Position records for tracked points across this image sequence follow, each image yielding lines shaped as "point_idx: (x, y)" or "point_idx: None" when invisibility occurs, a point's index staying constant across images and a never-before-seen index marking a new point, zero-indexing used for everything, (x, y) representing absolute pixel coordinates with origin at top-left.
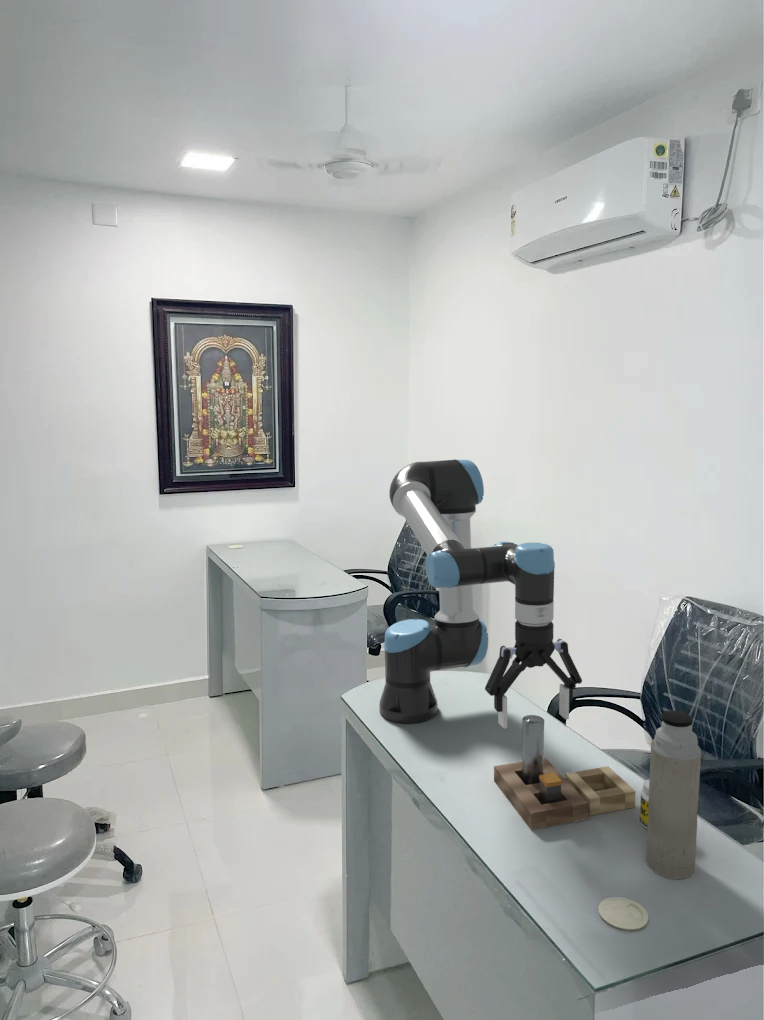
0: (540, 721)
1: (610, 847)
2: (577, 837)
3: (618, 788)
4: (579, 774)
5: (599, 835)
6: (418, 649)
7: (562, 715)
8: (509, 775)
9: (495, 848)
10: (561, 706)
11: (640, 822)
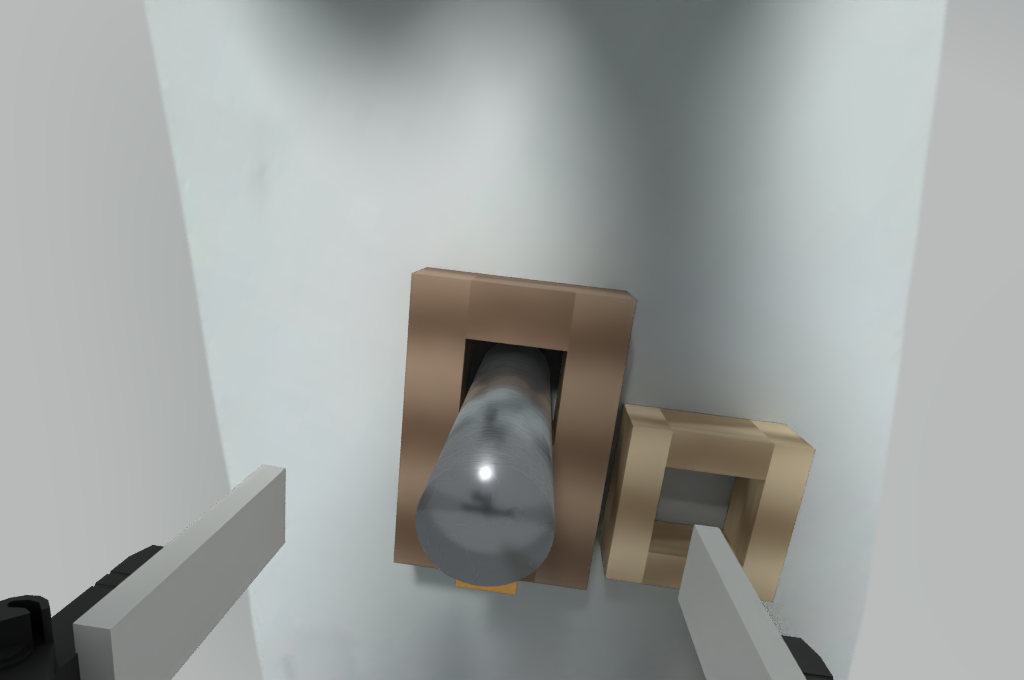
0: (514, 562)
1: (558, 657)
2: (506, 598)
3: None
4: (675, 453)
5: (565, 614)
6: None
7: (687, 571)
8: (434, 357)
9: (287, 551)
10: (709, 599)
11: None
